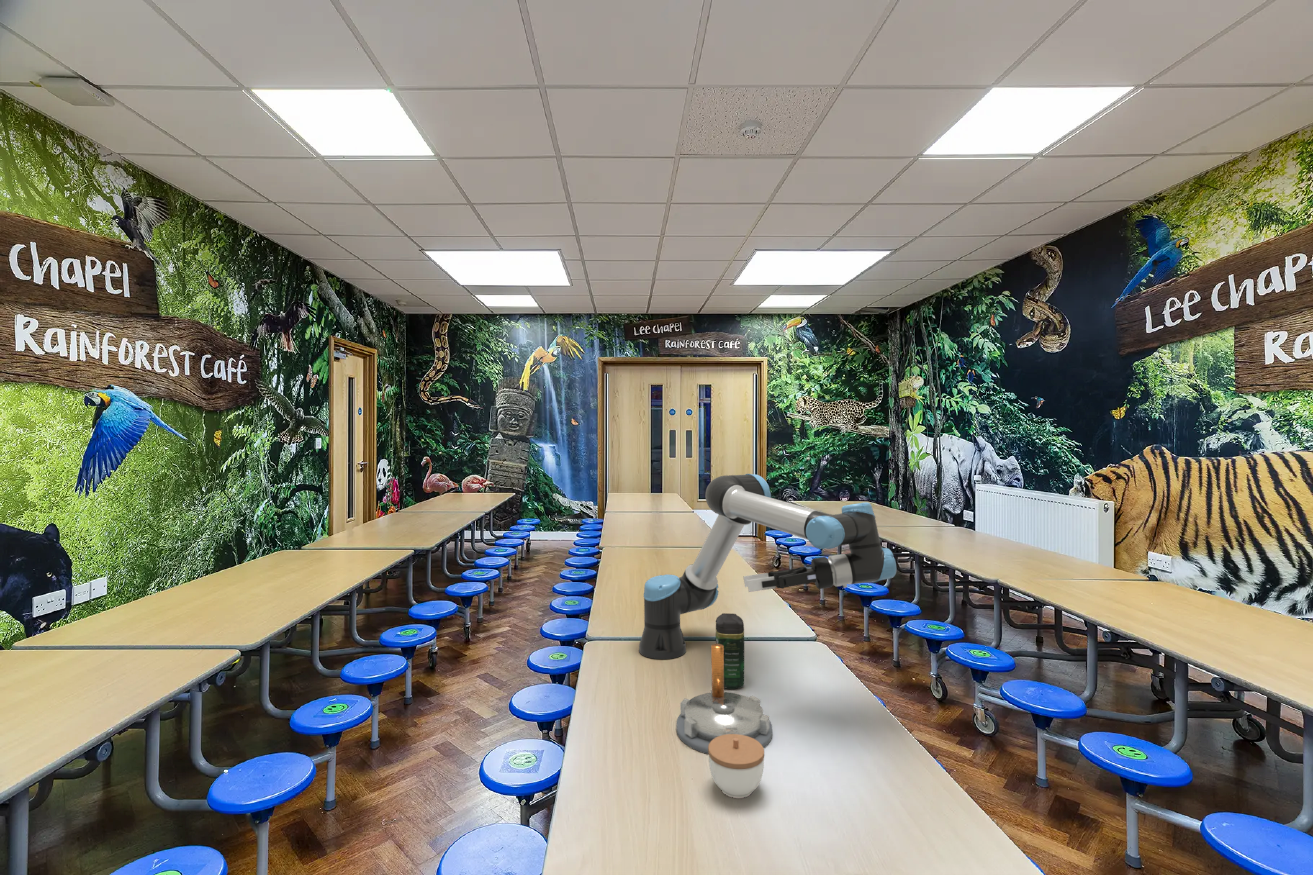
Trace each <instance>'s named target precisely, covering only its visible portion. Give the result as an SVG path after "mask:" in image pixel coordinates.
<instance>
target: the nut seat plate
mask: <svg viewBox="0 0 1313 875" xmlns="http://www.w3.org/2000/svg"><path fill="white" fill-rule="evenodd" d="M763 715H765V714H764V713H763ZM684 720H685V716H681V713H680V714H679V715H678V717H677V719H676V733H677V734H676V735H677V736H678V738H679V739H680V741H681V742H682V743H684V745H686V746H688V747H689V748H691V749H693V750H695V751H697V752H701V753H702V754H703V753H704V754H707V755H709V753H708V746H709V743H710V742H711V741H709V740H705V739H703V738H700V737H698V736H696V737H693V738H691V737H689V736H688V735H687V734H685V730H684ZM753 739H755V740H757V741H758V742H759V743H760V744H761V745H762V746H763V748H764V749H766V747H767V746H768V745H769V744H770V743H771V741H772V739H773V724H772V722H771V720H770V719H769V731H768V733H767V735H765V734H761V733H760V734H758V735H757V736H756V737H754V738H753Z"/></svg>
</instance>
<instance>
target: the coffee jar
mask: <svg viewBox="0 0 1313 875" xmlns="http://www.w3.org/2000/svg"><path fill="white" fill-rule="evenodd" d="M715 644H722V645H723V646H724V689H727V690H736V689H740V688H743V687H744V686H745V625H744V620H743V618H742V617H740V616H739V615H737V614H736V613H726V612H725V613H724V612H723V613H721V614H720V615H718V616H717V617H716V618H715Z"/></svg>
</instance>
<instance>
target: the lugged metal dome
mask: <svg viewBox="0 0 1313 875" xmlns="http://www.w3.org/2000/svg"><path fill="white" fill-rule="evenodd" d="M710 649H711V651H710V652H711V656H710V658H711V660H710V661H711V663H710V664H711V690H710V692H706V693H702V694H699V695H696V696H694V697H692V698H684V699H682V701H680V703H679V704H680V706H679V707H680V714H681V716H685V720H684V730H685V734H687V735H688V736H689V737H691V738H693V737H696V736H698V737H700V738H703V739H705V740H709V741H712V740H713V739H714V738H716V737H718V736H721V735H727V734H739V735H745V736H748V737H751V738H754V737H756V736H757V735H758V734H760V733H761V734H765V735H767V733H768V731H769V720H770V716H769V715H765V714H764V710H763V707H762V706H761V699H760V698H758V697H756V696H754V695H751V696H747V695H742V694H739V693H733V692H725V688H724V646H723V645H722V644H716V643H712V644H711V645H710ZM763 714H764V715H763Z"/></svg>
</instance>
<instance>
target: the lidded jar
mask: <svg viewBox="0 0 1313 875" xmlns="http://www.w3.org/2000/svg"><path fill="white" fill-rule="evenodd" d="M708 753H709V754H708V763H709V770H710V774H711V777H712V779H713V782H714V783H715V785H716V786H717V787H718V788H719V789H720V791H721V790H722V791H721V792H722V793H723V794H724V795H725V794H726V795H725V796H727V795H728V796H727V797H729V798H732V797H733V798H732V799H745V798H747V797H749V796H750V794H752V793H753V792H754V791H755V790H756V789H757V788H758V786H760V783H761V781H762V778H763V774H764V768H765V767H764V766H765V765H764V763H765V762H764V761H765V748H763V746H762V745H761V744H760V743H759V742H758V741H757V740H755V739H753V738H751V737H748V736H745V735H739V734H727V735H721V736H718V737H716V738H714V739H713V740H712V741H711V742H710V743H709V746H708ZM744 797H745V798H744Z"/></svg>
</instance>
